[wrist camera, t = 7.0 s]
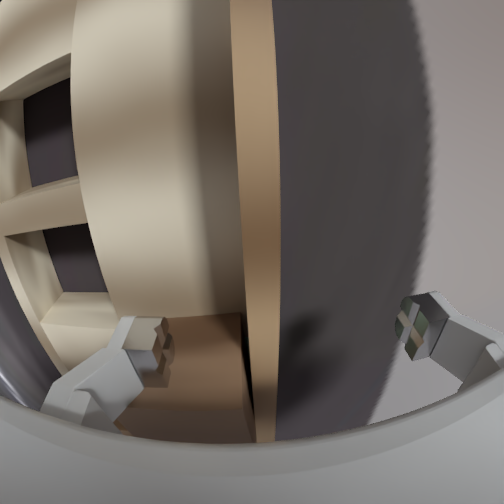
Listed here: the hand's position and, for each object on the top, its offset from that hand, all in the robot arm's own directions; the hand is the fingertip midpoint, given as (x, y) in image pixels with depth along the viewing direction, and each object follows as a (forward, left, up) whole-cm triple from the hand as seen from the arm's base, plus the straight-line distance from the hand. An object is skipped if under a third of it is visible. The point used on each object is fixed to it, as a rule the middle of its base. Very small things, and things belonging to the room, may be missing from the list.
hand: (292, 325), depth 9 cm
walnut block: (+3, -4, -2) cm, 5 cm away
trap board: (-4, -7, -5) cm, 9 cm away
